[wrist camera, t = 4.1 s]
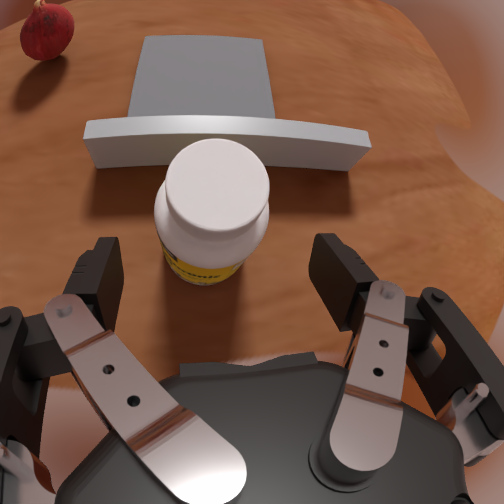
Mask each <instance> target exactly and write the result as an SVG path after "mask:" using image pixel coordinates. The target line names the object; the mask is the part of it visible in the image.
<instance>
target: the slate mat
mask: <svg viewBox="0 0 504 504" xmlns="http://www.w3.org/2000/svg"><path fill="white" fill-rule="evenodd" d="M171 115H210V116H239V117H256V118H270V119H275V112H274V106H273V100H272V94H271V88H270V82H269V76H268V70H267V65H266V59H265V53H264V48H263V43H262V40H260V39H250V38H240V37H226V36H206V35H162V36H145V40H144V43H143V47H142V51H141V55H140V59H139V63H138V67H137V72H136V76H135V81H134V85H133V90H132V95H131V100H130V106H129V111H128V117H142V116H171Z"/></svg>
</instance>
